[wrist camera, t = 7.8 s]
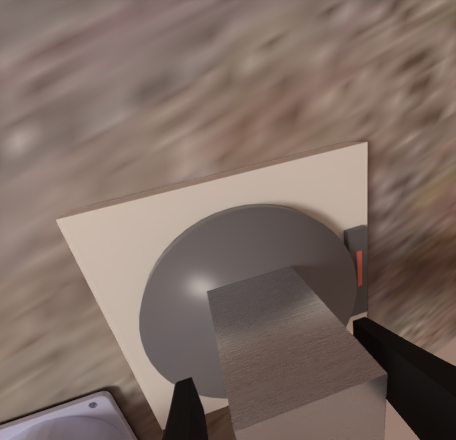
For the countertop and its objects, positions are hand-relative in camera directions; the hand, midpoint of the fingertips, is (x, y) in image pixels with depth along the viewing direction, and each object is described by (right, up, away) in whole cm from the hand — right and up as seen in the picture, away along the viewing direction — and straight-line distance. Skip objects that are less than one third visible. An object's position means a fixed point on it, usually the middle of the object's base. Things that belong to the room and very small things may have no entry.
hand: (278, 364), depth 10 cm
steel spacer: (-1, +1, +3) cm, 3 cm away
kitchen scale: (-1, +2, +5) cm, 5 cm away
